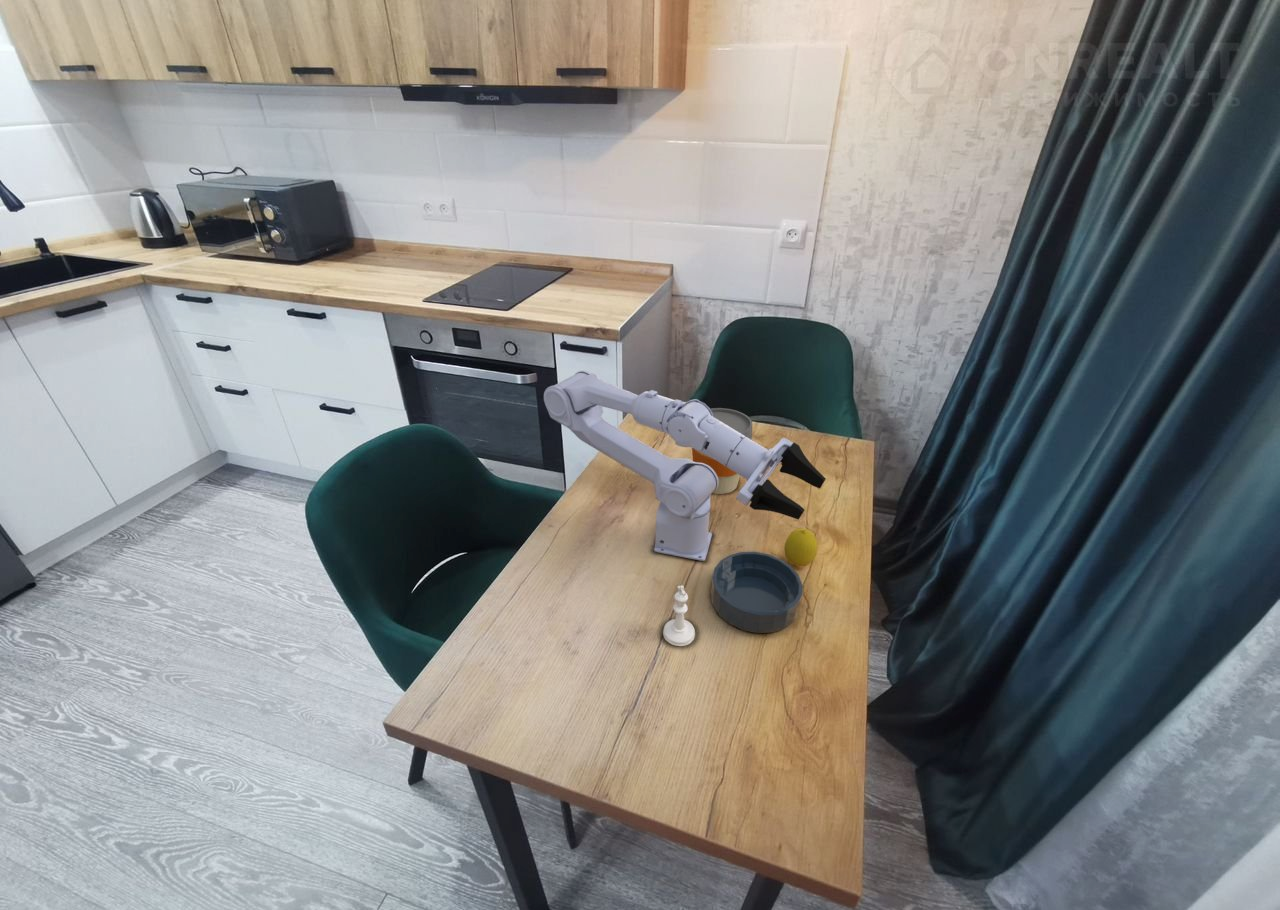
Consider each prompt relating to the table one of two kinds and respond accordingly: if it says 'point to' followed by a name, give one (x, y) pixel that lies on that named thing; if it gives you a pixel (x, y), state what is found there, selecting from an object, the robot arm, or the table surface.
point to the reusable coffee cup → (724, 474)
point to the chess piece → (679, 622)
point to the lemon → (801, 547)
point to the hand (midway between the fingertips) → (812, 498)
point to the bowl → (756, 592)
